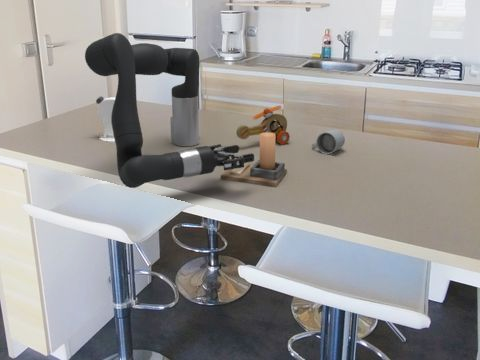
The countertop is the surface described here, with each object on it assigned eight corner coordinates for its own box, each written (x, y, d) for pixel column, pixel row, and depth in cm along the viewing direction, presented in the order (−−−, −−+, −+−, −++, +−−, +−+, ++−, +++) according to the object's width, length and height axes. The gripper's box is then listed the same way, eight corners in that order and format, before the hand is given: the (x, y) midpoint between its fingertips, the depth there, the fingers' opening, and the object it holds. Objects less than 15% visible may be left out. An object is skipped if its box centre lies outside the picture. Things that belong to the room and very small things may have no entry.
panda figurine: (135, 133, 186) (132, 94, 181) (129, 142, 176) (126, 101, 170) (103, 133, 186) (99, 94, 180) (96, 142, 175) (91, 101, 170)
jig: (220, 178, 144) (220, 167, 143) (234, 165, 155) (234, 154, 153) (275, 187, 139) (276, 175, 138) (286, 172, 149) (287, 161, 148)
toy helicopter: (292, 143, 177) (294, 106, 172) (243, 152, 167) (244, 113, 161) (278, 137, 183) (280, 101, 178) (231, 146, 173) (231, 108, 168)
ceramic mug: (345, 150, 170) (347, 128, 168) (335, 156, 164) (337, 134, 161) (318, 144, 176) (319, 124, 173) (307, 150, 170) (308, 129, 167)
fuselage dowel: (257, 174, 144) (257, 136, 140) (262, 169, 148) (262, 131, 144) (272, 176, 143) (272, 137, 138) (276, 171, 147) (277, 133, 142)
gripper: (205, 156, 124) (259, 147, 132) (182, 141, 135) (233, 133, 143) (206, 183, 127) (258, 172, 135) (183, 166, 138) (233, 157, 146)
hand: (245, 152), depth 139 cm, fingers open, 8 cm apart
